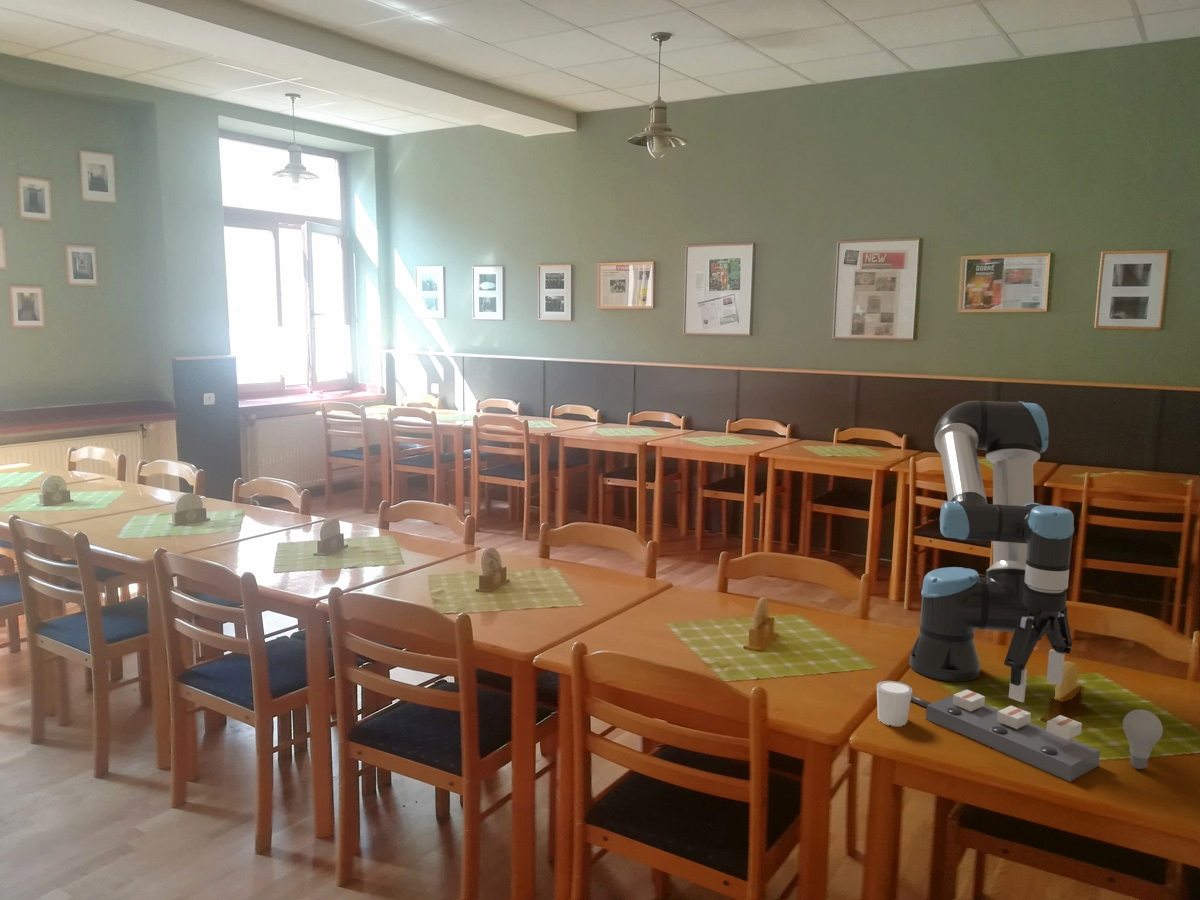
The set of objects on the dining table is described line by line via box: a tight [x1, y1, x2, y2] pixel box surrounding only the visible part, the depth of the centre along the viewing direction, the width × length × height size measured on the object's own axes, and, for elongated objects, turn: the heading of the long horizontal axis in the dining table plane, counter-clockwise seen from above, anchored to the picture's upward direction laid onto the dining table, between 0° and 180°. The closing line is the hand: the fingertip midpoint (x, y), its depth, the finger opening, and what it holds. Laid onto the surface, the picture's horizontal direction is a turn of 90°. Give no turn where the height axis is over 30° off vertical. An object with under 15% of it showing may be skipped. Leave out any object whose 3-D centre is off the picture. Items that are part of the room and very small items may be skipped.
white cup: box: [876, 680, 913, 727], centre depth 176 cm, size 7×7×7 cm
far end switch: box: [1045, 714, 1083, 740], centre depth 161 cm, size 5×4×2 cm
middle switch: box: [997, 705, 1032, 729], centre depth 169 cm, size 5×4×2 cm
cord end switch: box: [952, 689, 986, 711], centre depth 176 cm, size 5×4×2 cm
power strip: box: [910, 694, 1101, 783], centre depth 172 cm, size 10×39×3 cm, turn 35°
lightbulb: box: [1122, 709, 1164, 770], centre depth 158 cm, size 6×6×11 cm
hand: (1035, 691), depth 173 cm, fingers open, 13 cm apart
